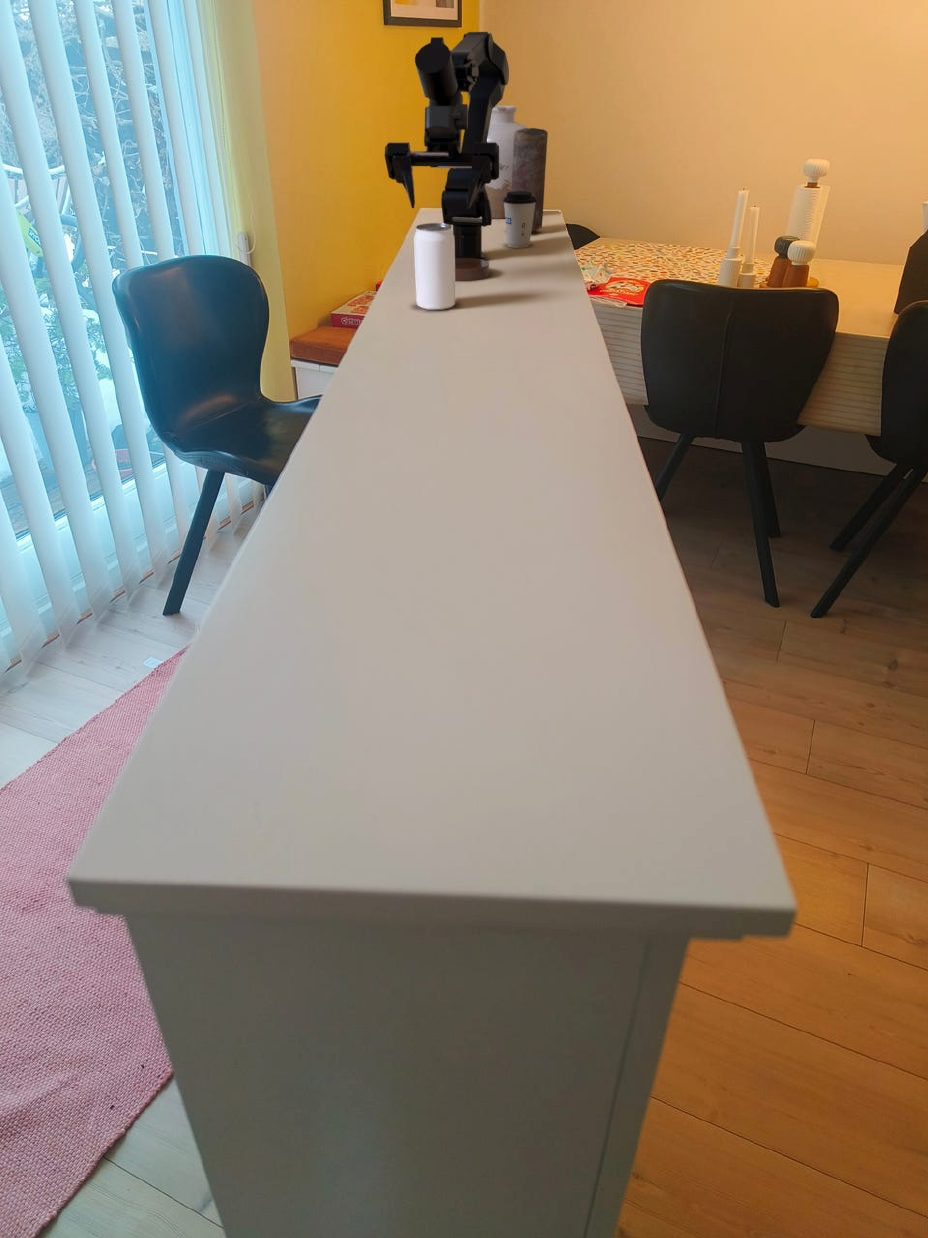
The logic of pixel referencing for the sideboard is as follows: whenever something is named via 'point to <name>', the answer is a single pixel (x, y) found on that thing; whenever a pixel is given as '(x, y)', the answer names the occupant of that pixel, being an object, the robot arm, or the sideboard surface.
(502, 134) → the vase
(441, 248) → the can
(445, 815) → the sideboard surface
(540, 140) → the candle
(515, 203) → the coffee cup
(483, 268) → the coaster
